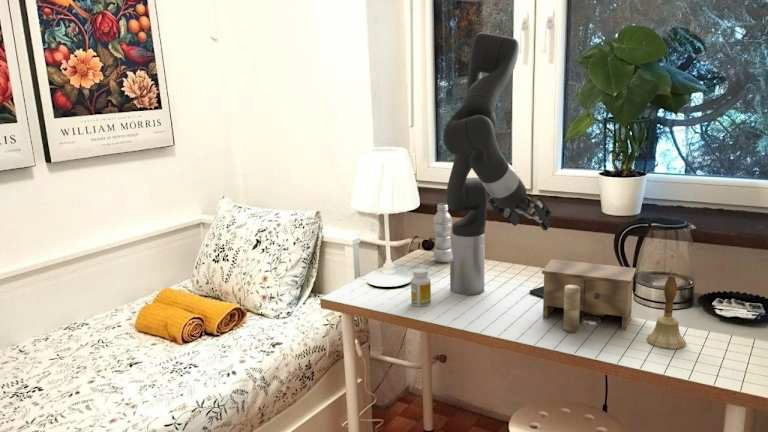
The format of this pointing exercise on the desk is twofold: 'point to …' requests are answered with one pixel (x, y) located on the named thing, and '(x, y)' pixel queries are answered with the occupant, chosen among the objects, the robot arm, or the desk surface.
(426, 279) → the supplement bottle
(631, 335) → the desk surface
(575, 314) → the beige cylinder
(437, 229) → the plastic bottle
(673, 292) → the hand bell
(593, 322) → the token
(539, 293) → the phone
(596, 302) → the cabinet
